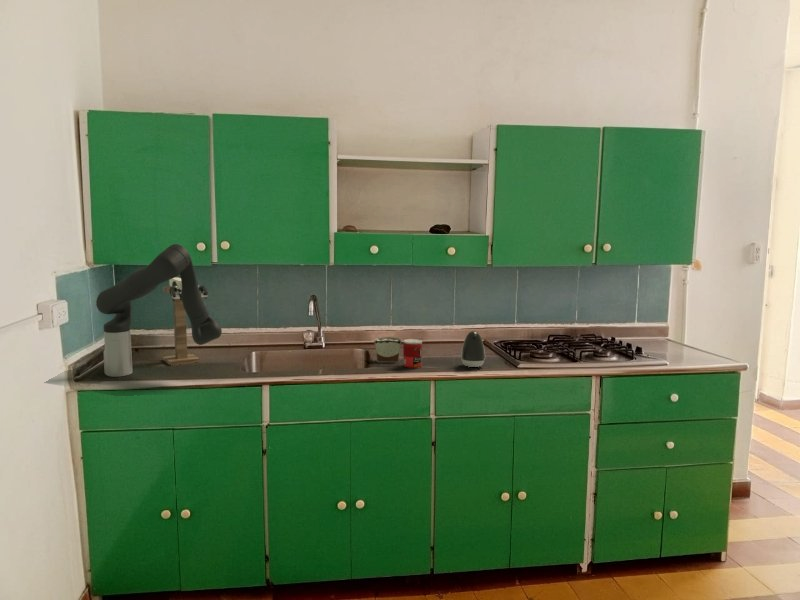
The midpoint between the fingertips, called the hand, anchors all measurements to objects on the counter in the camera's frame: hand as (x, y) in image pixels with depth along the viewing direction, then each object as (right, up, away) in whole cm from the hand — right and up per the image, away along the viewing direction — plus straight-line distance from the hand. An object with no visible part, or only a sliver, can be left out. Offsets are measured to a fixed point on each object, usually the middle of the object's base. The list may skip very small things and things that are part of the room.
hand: (183, 282), depth 234 cm
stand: (-5, -34, +11) cm, 36 cm away
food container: (+83, -34, +17) cm, 92 cm away
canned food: (+94, -35, +6) cm, 101 cm away
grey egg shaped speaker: (+119, -36, +7) cm, 125 cm away
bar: (-3, -2, +5) cm, 6 cm away
